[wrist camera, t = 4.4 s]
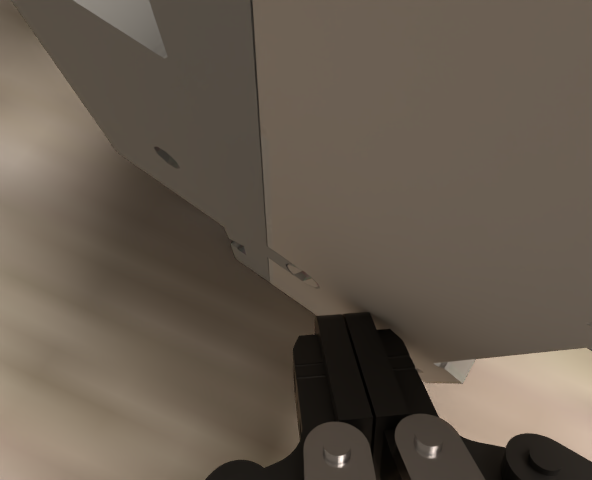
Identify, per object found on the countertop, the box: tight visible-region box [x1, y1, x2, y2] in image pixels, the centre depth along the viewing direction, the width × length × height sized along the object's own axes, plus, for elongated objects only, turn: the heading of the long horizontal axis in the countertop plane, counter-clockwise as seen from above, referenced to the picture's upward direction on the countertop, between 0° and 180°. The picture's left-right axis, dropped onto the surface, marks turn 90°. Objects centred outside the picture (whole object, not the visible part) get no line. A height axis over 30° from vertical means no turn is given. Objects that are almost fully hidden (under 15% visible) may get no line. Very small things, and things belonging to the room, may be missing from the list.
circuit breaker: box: [11, 0, 592, 384], centre depth 11 cm, size 8×14×15 cm, turn 55°
